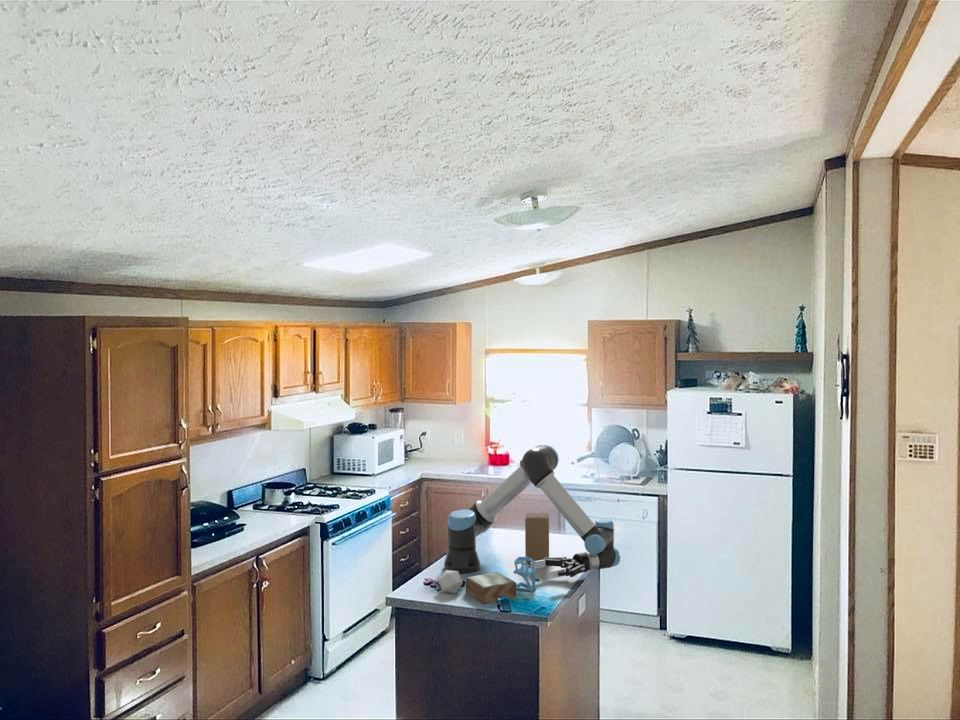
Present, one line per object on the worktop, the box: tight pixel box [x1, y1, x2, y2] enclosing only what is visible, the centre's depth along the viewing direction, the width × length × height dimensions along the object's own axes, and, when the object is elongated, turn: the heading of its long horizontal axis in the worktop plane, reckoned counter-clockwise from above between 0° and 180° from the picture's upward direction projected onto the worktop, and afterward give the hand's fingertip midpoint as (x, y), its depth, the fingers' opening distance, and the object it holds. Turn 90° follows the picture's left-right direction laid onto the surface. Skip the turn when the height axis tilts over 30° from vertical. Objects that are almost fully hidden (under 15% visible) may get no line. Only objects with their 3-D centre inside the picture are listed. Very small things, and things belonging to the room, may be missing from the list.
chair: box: [512, 556, 537, 592], centre depth 294 cm, size 8×8×12 cm
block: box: [524, 512, 550, 565], centre depth 330 cm, size 10×10×20 cm
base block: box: [465, 571, 517, 605], centre depth 287 cm, size 14×14×6 cm
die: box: [437, 569, 464, 594], centre depth 292 cm, size 8×9×10 cm
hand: (540, 570), depth 297 cm, fingers open, 13 cm apart
